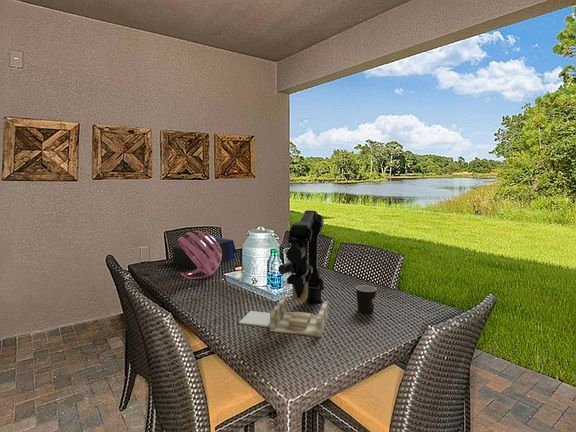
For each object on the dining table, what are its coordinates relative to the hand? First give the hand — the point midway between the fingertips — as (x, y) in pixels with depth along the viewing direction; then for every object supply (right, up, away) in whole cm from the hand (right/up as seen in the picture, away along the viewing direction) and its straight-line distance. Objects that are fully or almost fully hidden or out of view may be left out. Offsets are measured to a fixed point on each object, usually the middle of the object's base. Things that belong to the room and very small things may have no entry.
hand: (300, 295), depth 134 cm
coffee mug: (+30, -10, +15) cm, 35 cm away
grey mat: (-17, -11, +6) cm, 21 cm away
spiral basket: (-56, -4, +67) cm, 87 cm away
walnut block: (0, -1, 0) cm, 1 cm away
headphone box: (-61, 0, +103) cm, 120 cm away
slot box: (0, -12, +1) cm, 12 cm away
